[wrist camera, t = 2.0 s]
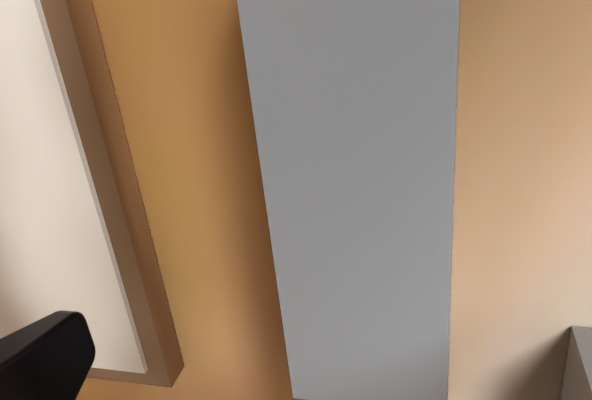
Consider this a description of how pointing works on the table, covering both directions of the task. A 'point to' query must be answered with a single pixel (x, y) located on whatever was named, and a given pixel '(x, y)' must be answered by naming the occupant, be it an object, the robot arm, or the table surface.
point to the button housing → (578, 366)
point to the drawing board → (75, 196)
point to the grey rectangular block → (358, 187)
